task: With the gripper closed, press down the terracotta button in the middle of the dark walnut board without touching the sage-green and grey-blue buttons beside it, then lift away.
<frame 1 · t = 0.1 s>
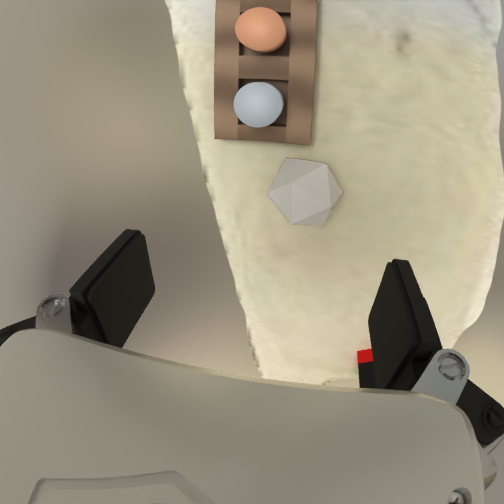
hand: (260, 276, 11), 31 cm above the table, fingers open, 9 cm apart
board: (267, 36, 30), on the table
die: (305, 181, 41), on the table
button blue: (260, 103, 31), point 5 cm above the table, slide at 0.0 cm
button terracotta: (262, 30, 26), point 5 cm above the table, slide at 0.0 cm
puzzle toy: (381, 359, 58), on the table
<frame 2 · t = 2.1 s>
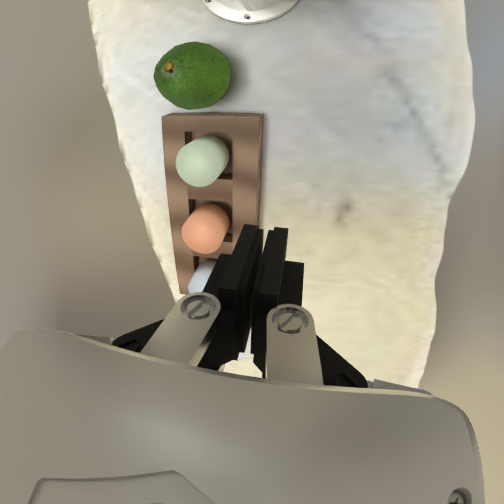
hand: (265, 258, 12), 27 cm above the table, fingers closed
board: (216, 211, 42), on the table
die: (254, 316, 53), on the table
button blue: (209, 282, 43), point 5 cm above the table, slide at 0.0 cm
button terracotta: (206, 228, 38), point 5 cm above the table, slide at 0.0 cm
button sage: (203, 160, 33), point 5 cm above the table, slide at 0.0 cm
avocado: (208, 74, 32), on the table
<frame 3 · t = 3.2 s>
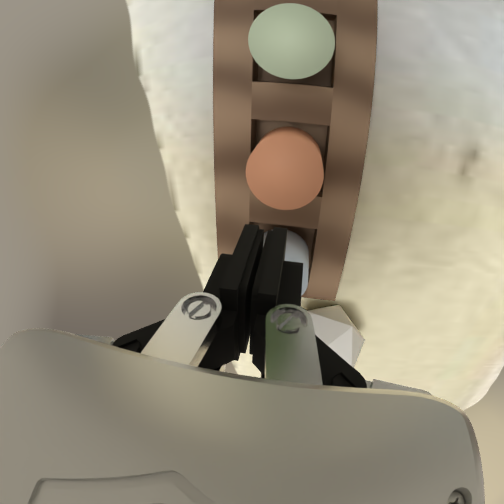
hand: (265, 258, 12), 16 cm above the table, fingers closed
board: (290, 149, 25), on the table
die: (324, 318, 36), on the table
button blue: (278, 266, 26), point 5 cm above the table, slide at 0.0 cm
button terracotta: (286, 165, 21), point 5 cm above the table, slide at 0.0 cm
button sage: (292, 43, 16), point 5 cm above the table, slide at 0.0 cm
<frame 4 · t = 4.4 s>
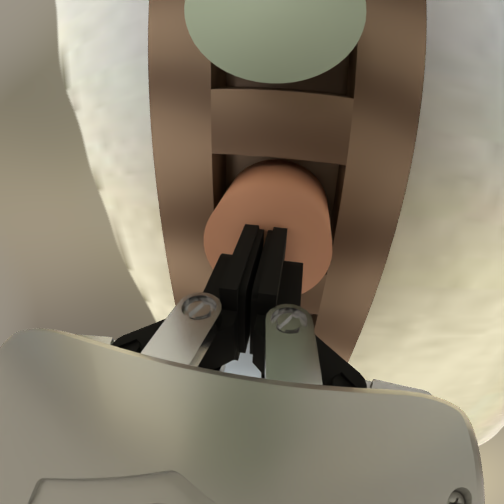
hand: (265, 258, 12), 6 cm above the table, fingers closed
board: (280, 194, 17), on the table
button blue: (260, 364, 18), point 5 cm above the table, slide at 0.0 cm
button terracotta: (272, 226, 14), point 4 cm above the table, slide at 1.1 cm, touching gripper
button sage: (279, 14, 8), point 5 cm above the table, slide at 0.0 cm
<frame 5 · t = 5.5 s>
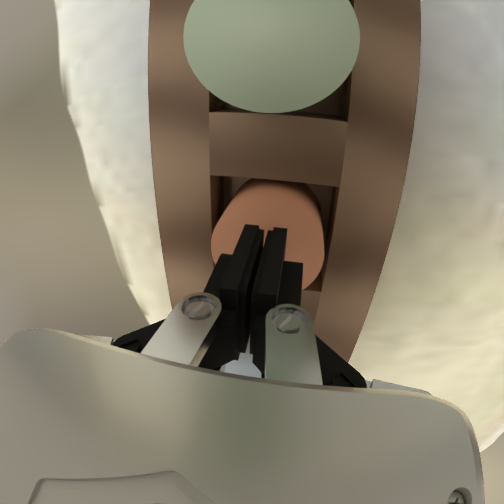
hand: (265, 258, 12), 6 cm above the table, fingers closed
board: (276, 213, 17), on the table
button blue: (257, 377, 18), point 5 cm above the table, slide at 0.0 cm
button terracotta: (271, 233, 15), point 2 cm above the table, slide at 2.5 cm, touching board
button sage: (275, 41, 8), point 5 cm above the table, slide at 0.0 cm
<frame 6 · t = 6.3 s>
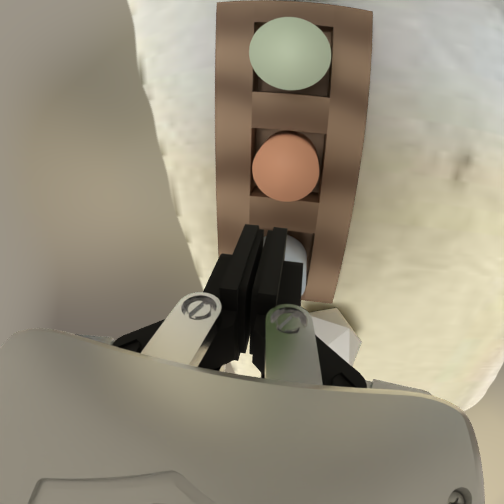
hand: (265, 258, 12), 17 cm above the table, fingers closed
board: (288, 156, 26), on the table
die: (322, 321, 36), on the table
button blue: (277, 269, 27), point 5 cm above the table, slide at 0.0 cm
button terracotta: (287, 164, 24), point 2 cm above the table, slide at 2.5 cm, touching board
button sage: (291, 55, 17), point 5 cm above the table, slide at 0.0 cm
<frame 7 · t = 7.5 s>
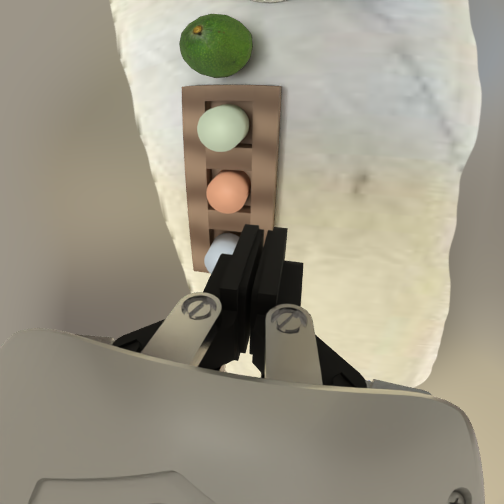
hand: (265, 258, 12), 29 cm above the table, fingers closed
board: (233, 183, 42), on the table
button blue: (226, 256, 42), point 5 cm above the table, slide at 0.0 cm
button terracotta: (229, 189, 39), point 2 cm above the table, slide at 2.5 cm, touching board
button sage: (224, 126, 32), point 5 cm above the table, slide at 0.0 cm
avocado: (227, 49, 31), on the table
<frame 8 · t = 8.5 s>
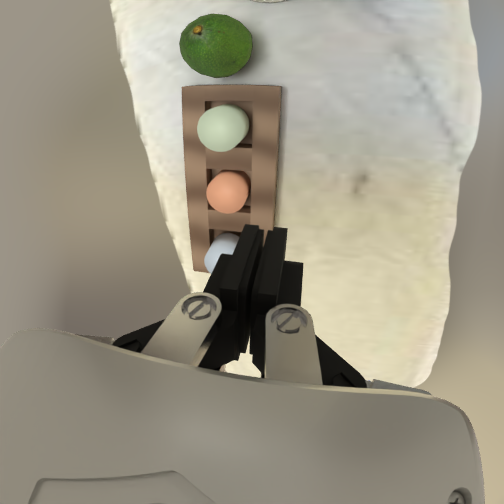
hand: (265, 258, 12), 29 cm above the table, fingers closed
board: (233, 183, 42), on the table
button blue: (226, 256, 42), point 5 cm above the table, slide at 0.0 cm
button terracotta: (229, 189, 39), point 2 cm above the table, slide at 2.5 cm, touching board
button sage: (224, 126, 32), point 5 cm above the table, slide at 0.0 cm
avocado: (227, 49, 31), on the table
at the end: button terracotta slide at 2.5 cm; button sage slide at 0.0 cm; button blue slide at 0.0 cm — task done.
